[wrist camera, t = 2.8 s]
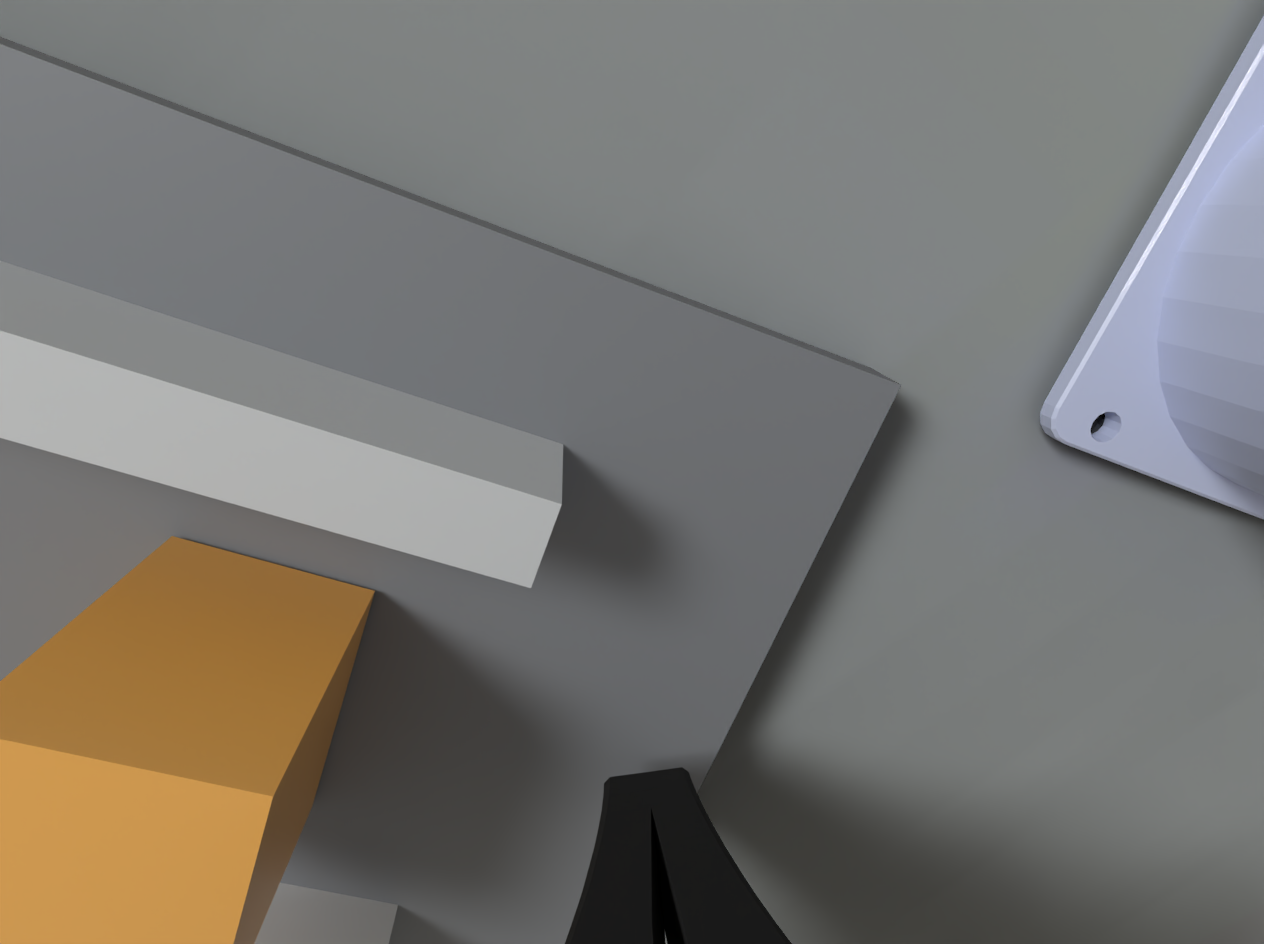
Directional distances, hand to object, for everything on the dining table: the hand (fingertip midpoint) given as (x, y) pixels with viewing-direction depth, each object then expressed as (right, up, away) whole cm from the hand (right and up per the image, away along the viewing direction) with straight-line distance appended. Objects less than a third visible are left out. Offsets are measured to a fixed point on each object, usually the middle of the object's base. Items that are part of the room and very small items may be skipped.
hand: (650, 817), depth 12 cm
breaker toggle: (-7, +2, -1) cm, 7 cm away
